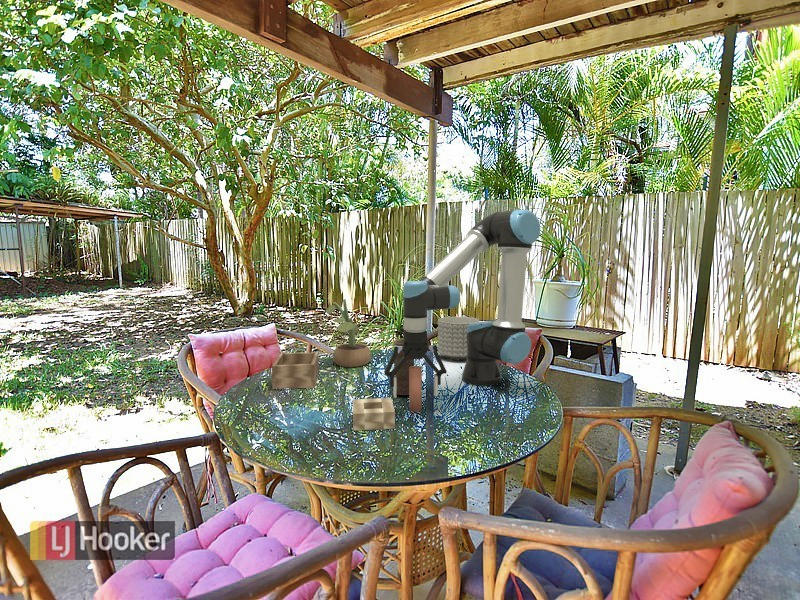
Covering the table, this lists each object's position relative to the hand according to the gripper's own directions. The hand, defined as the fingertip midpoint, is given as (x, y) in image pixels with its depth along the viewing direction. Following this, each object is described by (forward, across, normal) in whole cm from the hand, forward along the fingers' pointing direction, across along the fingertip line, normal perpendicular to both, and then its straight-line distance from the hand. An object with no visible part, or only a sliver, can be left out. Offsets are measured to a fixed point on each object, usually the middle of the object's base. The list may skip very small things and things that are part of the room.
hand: (415, 395), depth 143 cm
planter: (+5, -29, -63) cm, 70 cm away
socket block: (+5, +14, +8) cm, 17 cm away
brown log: (+5, +2, -15) cm, 16 cm away
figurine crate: (+5, +42, -36) cm, 56 cm away
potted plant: (+5, +22, -58) cm, 62 cm away
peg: (+5, 0, 0) cm, 5 cm away
